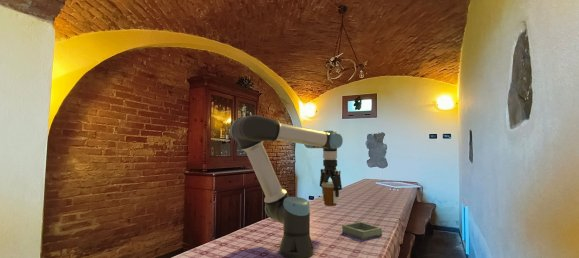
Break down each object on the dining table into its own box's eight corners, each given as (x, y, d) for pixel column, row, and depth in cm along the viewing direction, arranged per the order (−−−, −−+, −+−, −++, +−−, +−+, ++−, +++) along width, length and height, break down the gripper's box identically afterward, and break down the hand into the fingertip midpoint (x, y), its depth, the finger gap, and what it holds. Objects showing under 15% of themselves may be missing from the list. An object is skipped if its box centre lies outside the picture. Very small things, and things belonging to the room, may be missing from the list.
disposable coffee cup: (339, 207, 151) (339, 183, 152) (320, 206, 153) (320, 183, 154) (339, 203, 161) (339, 181, 161) (322, 203, 163) (322, 181, 163)
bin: (362, 240, 147) (362, 232, 147) (342, 232, 160) (342, 225, 160) (381, 235, 154) (381, 228, 155) (360, 228, 167) (360, 221, 167)
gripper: (349, 159, 152) (349, 204, 150) (323, 158, 169) (323, 198, 168) (338, 160, 148) (338, 205, 146) (312, 158, 165) (312, 199, 164)
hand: (330, 201), depth 157 cm, fingers closed on disposable coffee cup, 8 cm apart
